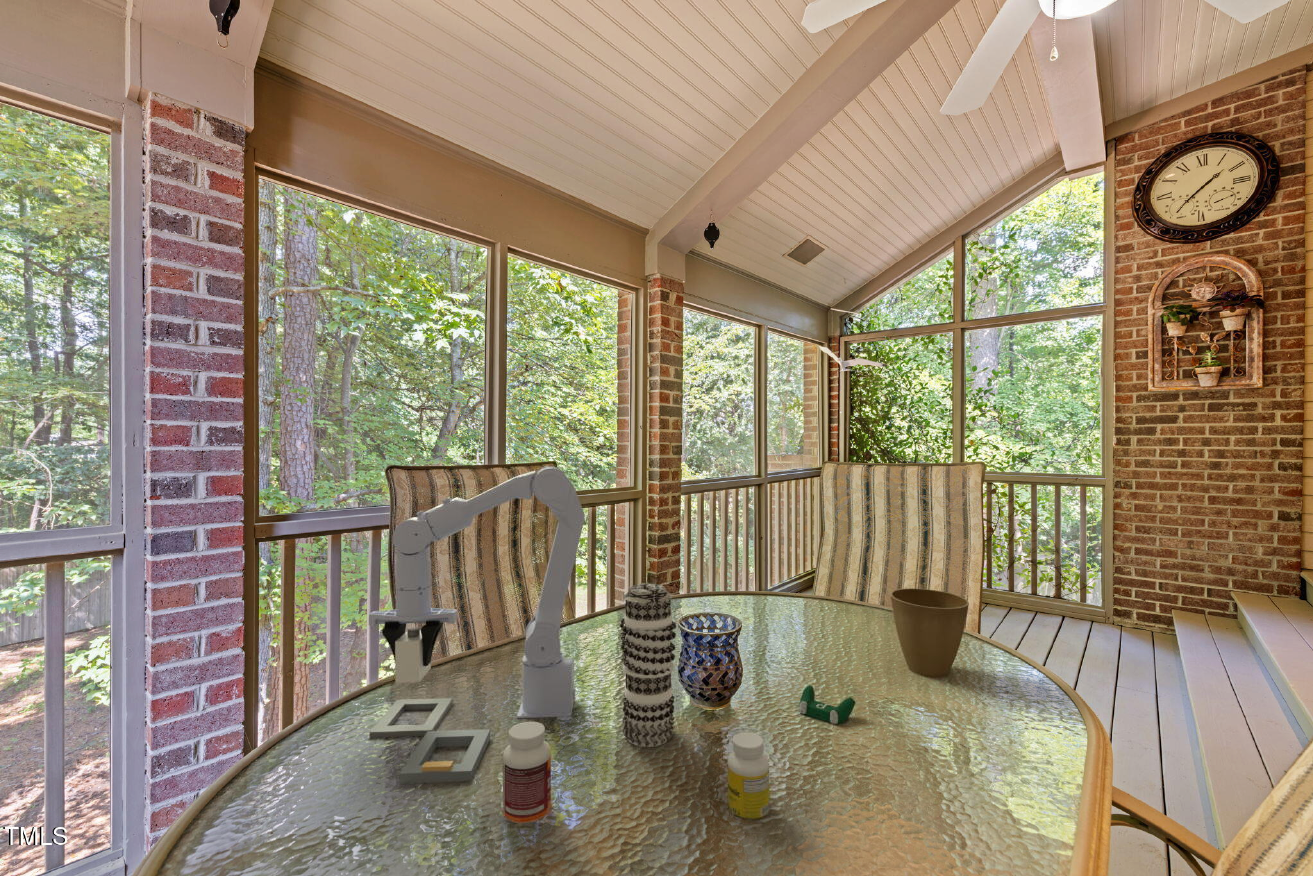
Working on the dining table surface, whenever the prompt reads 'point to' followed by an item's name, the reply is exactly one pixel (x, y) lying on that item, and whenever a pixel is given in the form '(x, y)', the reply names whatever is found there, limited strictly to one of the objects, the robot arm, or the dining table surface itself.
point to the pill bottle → (526, 774)
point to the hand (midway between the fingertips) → (413, 664)
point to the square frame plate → (387, 730)
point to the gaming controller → (824, 708)
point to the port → (445, 770)
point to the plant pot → (929, 628)
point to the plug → (410, 657)
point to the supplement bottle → (748, 777)
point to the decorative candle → (648, 665)
